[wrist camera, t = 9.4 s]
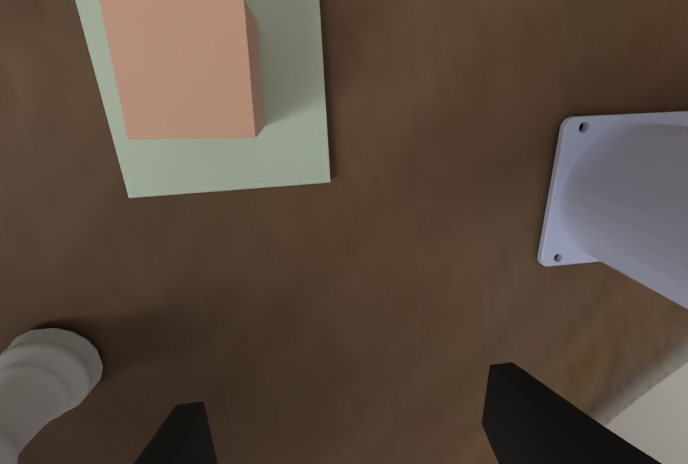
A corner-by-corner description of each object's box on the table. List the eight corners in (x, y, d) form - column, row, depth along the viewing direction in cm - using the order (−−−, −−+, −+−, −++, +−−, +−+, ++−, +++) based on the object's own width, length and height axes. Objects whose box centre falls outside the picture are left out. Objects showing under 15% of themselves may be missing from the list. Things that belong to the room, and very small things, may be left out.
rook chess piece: (0, 375, 19) (-185, 556, 12) (26, 309, 18) (-161, 462, 11) (90, 401, 20) (-24, 579, 13) (119, 341, 19) (13, 498, 12)
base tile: (314, -39, 15) (316, -50, 14) (328, 177, 18) (330, 182, 17) (80, -37, 14) (62, -48, 13) (139, 191, 17) (128, 197, 16)
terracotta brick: (257, 21, 14) (243, -2, 11) (264, 126, 16) (255, 138, 12) (150, 18, 14) (97, -7, 10) (168, 127, 15) (127, 139, 12)
